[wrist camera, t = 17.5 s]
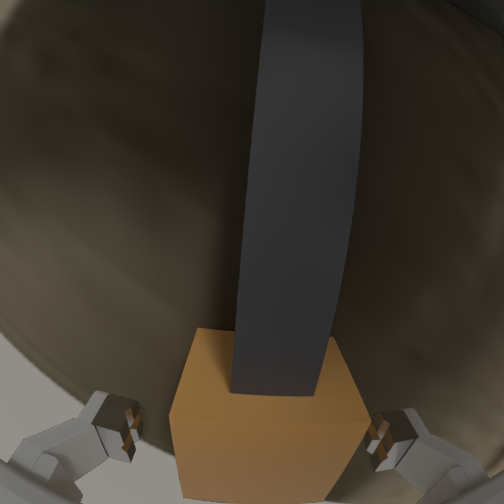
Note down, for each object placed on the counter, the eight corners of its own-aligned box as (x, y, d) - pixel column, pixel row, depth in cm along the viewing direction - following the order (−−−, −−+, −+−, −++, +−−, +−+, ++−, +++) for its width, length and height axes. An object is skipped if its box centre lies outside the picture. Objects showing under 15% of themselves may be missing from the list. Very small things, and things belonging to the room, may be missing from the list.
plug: (237, -48, 6) (231, -120, 2) (361, -29, 6) (399, -89, 2) (198, 418, 10) (183, 497, 6) (307, 424, 10) (322, 501, 6)
